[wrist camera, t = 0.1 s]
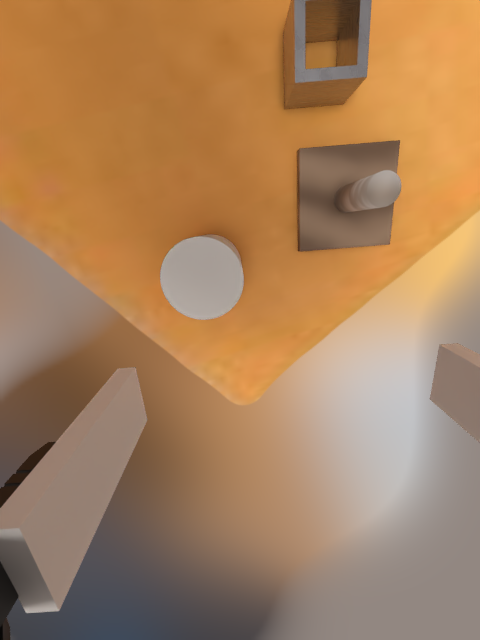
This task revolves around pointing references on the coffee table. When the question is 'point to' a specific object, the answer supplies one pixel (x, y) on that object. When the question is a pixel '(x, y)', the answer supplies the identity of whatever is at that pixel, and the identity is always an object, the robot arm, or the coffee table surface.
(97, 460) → the robot arm
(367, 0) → the collar
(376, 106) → the coffee table surface
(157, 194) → the coffee table surface
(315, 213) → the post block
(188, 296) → the gold-veined taupe cylinder
